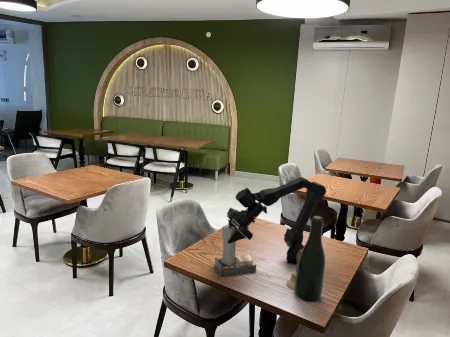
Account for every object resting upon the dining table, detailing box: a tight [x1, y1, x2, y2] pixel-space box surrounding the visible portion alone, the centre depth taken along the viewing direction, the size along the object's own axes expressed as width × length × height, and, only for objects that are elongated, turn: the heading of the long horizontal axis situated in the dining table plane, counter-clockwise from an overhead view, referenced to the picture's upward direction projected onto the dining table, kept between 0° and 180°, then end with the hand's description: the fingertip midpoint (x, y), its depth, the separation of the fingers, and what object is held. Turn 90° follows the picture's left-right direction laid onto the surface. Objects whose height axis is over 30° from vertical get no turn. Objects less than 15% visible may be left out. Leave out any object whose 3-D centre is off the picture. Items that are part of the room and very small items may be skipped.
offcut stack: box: [235, 254, 254, 267], centre depth 149 cm, size 6×6×5 cm
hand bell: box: [286, 249, 302, 291], centre depth 136 cm, size 8×8×16 cm
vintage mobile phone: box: [220, 208, 237, 267], centre depth 144 cm, size 4×5×25 cm
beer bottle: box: [293, 215, 327, 303], centre depth 127 cm, size 10×10×33 cm
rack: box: [214, 256, 257, 277], centre depth 148 cm, size 16×9×4 cm, turn 108°
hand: (225, 239), depth 144 cm, fingers closed on vintage mobile phone, 6 cm apart
